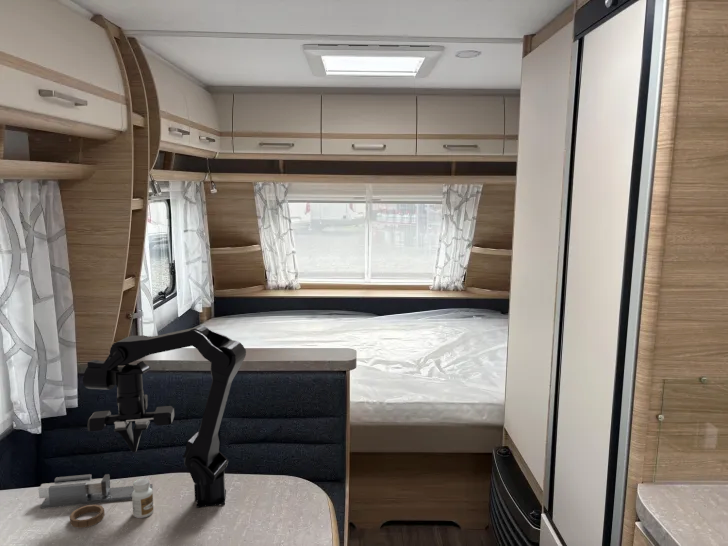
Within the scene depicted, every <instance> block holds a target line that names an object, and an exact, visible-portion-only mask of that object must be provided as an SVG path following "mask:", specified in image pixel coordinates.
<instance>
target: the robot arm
mask: <svg viewBox="0 0 728 546" xmlns="http://www.w3.org/2000/svg"><path fill="white" fill-rule="evenodd" d="M189 347H194V348H195V349H196V350H198V352H199V353H200V354H201V356H202V357H203V358H204V359H206V360H207V361H208V362H210V373H211V374H210V375H211V379H212V380H211V385H210V387H209V393H208V395H207V396H208V397H207V400H206V403H205V408H204V410H203V414H202V419H201V422H200V426H199V429H198V431H197V432H196V433H195V434H194V435H193V436H191V438H190V439H188V440H187V442H186V445H185V451H184V454H182V455H183V456H182V458H183V459H184V463H183V465H184V466H185V468H186V470H187V471H188V472H189V474H190V477H191V478H192V479H191V480H192V482H193V483H194V486H193V487H194V489H193V490H194V501H195V502H196V507H197V508H205V507H213V506H214V507H215V506H222V505H225V504H226V500H227V499H226V497H227V489H226V481H225V480H226V476H225V469H226V468H227V466H228V463H229V459H228V457H226V456H225V455H224V453H222V452H221V451H220V439H219V438H220V437H219V431H220V427H221V424H222V420H223V415H224V413H225V410H226V405H227V401H228V397H229V395H230V391H231V387H232V382H233V380H234V378H235V376H236V375H237V373H238V372H239V370H240V368H241V367H242V365H243V362H244V360H245V359H246V355H247V351H246V348H245V346H244V345H243V344H242V343H241V342H239V341H238V340H232V338H230V337H228V336H227V335H225V334H222V333H219V332H216V331H214V330H212V329H210V328H209V327H208V326H205V325H203V324H202V325H197V326H195V327H191V328H187V329H181V330H177V331H172V332H168V333H163V334H159V335H158V334H157V335H154V336H153V335H151V336H147V335H130V336H129V335H128V336H127V337H124V338H123V339H121V340H118V341H116V342H113V343H112V344H111V346H110V349H109V354H108V356H107V357H106V358H105V360H98V359H92V360H89V361H87V364H86V365H87V367H86V369H85V371H84V374H83V377H82V383H83V386H84V387H85V388H86V389H89V390H109V391H110V390H113V389H114V388H115V386H116V393H117V394H116V395H117V396H116V405H117V406H118V409H117V410H118V414H112V412H111V410H101V411H94V412H93V413H92V415H91V416H90V417H89V418H88V420H87V425H86V426H87V431H88V432H97V431H98V432H99V431H102V430H104V428H105V427H106V425H107V424H108V425H109V424H110V425H111V424H114V430H113V431H114V433H118V434H119V435H120V436H121V437H122V439H124V441H125V443H126V445H127V446H128V448H129V450H130V451H131V453H137V450H138V447H139V443H140V439H141V435H142V433H143V431H146V430H147V429H148V427H149V425H150V422H151V421H153V423H154V424H155V425H156V426H168V425H172V424H173V421H174V418H175V408H174V407H173V406H172V405H165V406H164V405H163V406H156V408H155V411H148V412H147V411H146V410H147V409H148V394H144V393H145V392H144V388H143V387H144V384H143V383H144V382H143V374H145V373H147V372H148V371H151V367H150V366H149V365H148V364H146V363H145V362H144V361H143V360H141V359H143V358H145V357H148V356H150V355H155V354H159V353H163V352H168V351H173V350H179V349H183V348H189ZM139 360H141V361H139ZM136 361H139V362H138V363H134V362H136ZM145 411H146V412H145ZM133 423H135V425H134V427H133Z"/></svg>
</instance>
